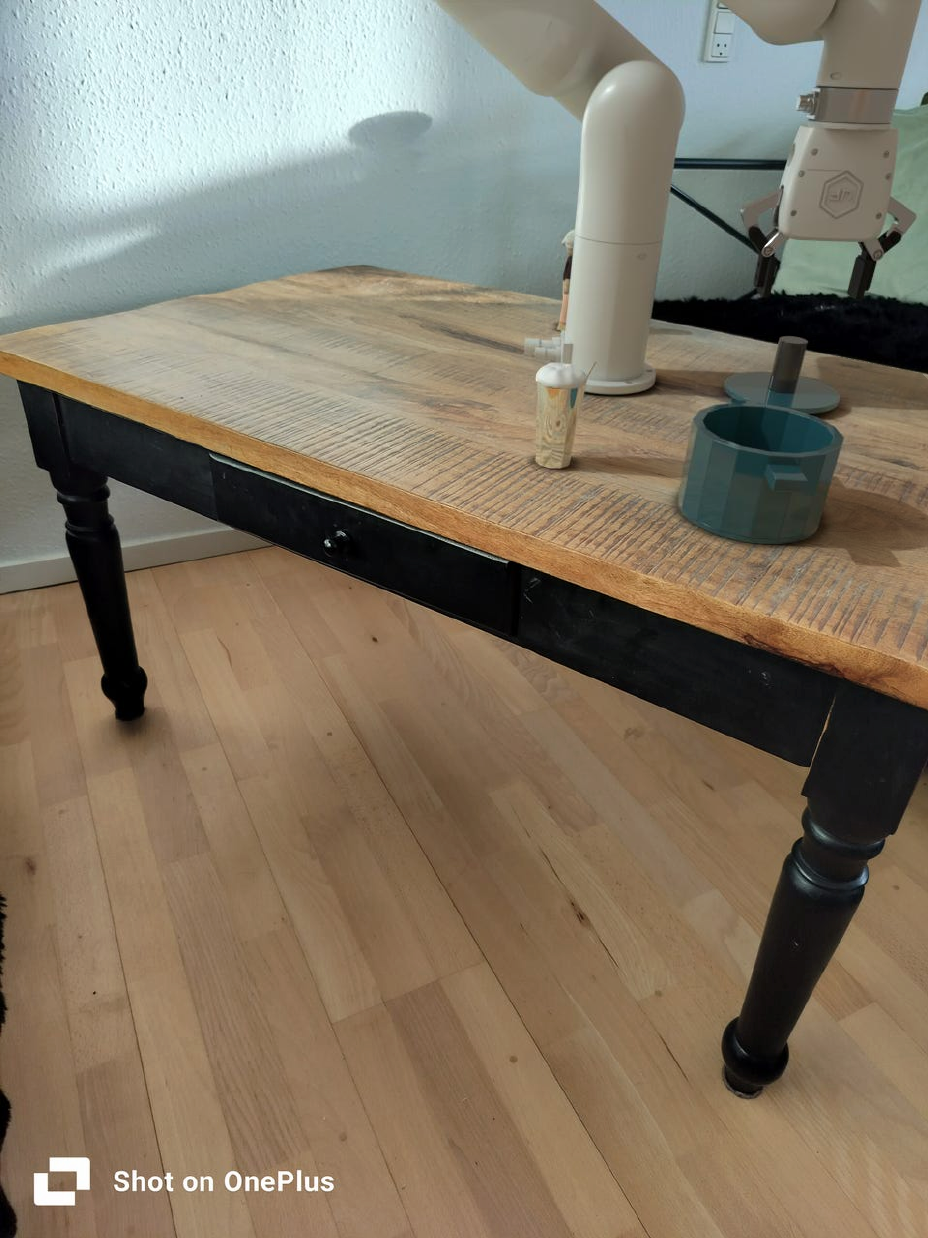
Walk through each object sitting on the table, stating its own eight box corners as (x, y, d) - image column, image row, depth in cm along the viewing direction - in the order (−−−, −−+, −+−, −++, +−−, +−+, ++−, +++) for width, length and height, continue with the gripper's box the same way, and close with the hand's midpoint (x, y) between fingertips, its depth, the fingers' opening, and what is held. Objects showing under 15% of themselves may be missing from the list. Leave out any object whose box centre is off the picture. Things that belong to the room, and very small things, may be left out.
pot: (695, 556, 67) (714, 466, 63) (665, 467, 81) (679, 389, 77) (846, 565, 67) (875, 475, 62) (790, 474, 81) (810, 396, 77)
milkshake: (571, 478, 78) (584, 368, 73) (519, 463, 80) (528, 356, 75) (593, 462, 81) (606, 355, 76) (542, 448, 84) (552, 344, 78)
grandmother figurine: (584, 335, 118) (595, 234, 111) (556, 333, 118) (565, 233, 111) (578, 320, 124) (589, 224, 117) (552, 319, 124) (560, 223, 117)
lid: (734, 415, 93) (748, 353, 90) (713, 378, 104) (724, 321, 100) (852, 422, 93) (871, 360, 89) (819, 384, 104) (834, 327, 100)
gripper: (769, 109, 80) (733, 301, 89) (959, 115, 79) (903, 307, 89) (751, 105, 86) (719, 285, 96) (928, 110, 86) (878, 291, 95)
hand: (808, 296), depth 92 cm, fingers open, 9 cm apart
